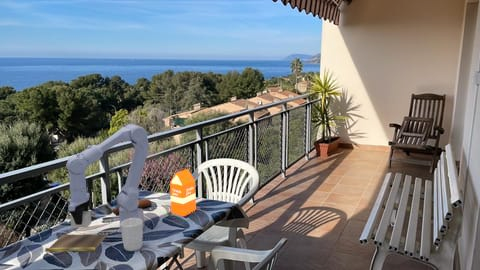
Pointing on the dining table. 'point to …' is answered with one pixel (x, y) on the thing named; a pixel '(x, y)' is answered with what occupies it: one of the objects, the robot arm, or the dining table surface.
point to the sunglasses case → (142, 203)
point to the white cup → (132, 233)
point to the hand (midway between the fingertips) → (81, 221)
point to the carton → (85, 220)
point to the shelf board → (77, 242)
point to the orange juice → (183, 193)
